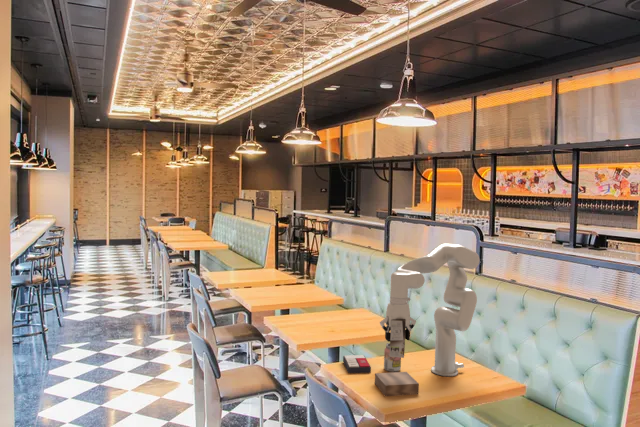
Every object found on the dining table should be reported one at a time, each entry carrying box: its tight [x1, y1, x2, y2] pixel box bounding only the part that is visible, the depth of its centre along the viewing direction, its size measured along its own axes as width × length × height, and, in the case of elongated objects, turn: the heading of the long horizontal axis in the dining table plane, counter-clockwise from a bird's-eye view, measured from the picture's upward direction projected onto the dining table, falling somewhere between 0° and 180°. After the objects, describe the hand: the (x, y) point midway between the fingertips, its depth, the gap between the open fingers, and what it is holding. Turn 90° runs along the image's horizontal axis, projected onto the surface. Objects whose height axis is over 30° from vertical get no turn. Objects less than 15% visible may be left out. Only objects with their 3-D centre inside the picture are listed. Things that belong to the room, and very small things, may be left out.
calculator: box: [342, 354, 372, 374], centre depth 237 cm, size 11×4×15 cm
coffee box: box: [389, 319, 406, 359], centre depth 211 cm, size 9×6×16 cm
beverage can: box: [383, 342, 402, 373], centre depth 235 cm, size 9×8×12 cm
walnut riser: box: [374, 371, 420, 397], centre depth 212 cm, size 15×14×5 cm
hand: (397, 339), depth 211 cm, fingers closed on coffee box, 8 cm apart
